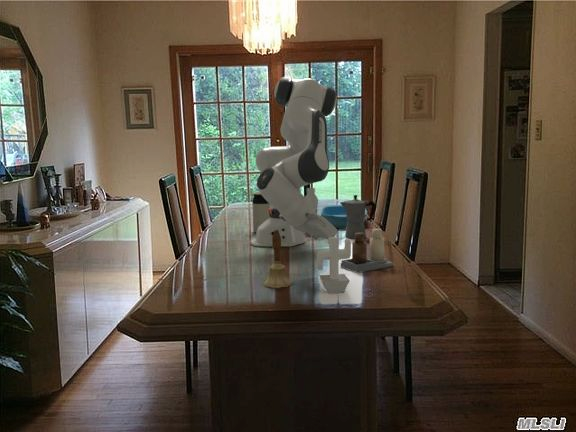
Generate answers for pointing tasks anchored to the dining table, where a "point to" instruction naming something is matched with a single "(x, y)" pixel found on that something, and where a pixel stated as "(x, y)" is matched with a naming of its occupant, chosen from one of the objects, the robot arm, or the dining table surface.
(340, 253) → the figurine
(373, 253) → the cruet stand
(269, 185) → the robot arm
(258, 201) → the travel mug
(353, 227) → the coffeepot
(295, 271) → the dining table surface
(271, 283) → the hand bell
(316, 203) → the plastic bottle
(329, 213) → the casserole dish
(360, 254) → the pepper mill
